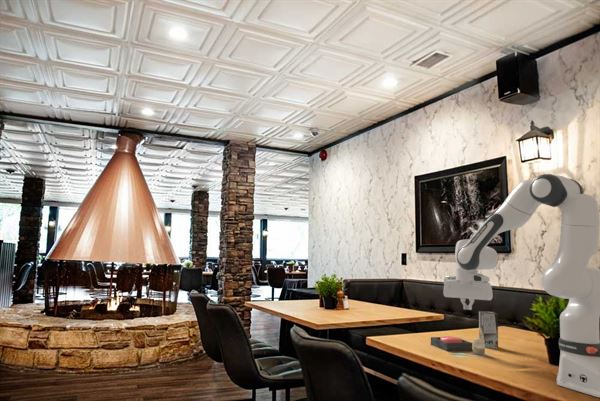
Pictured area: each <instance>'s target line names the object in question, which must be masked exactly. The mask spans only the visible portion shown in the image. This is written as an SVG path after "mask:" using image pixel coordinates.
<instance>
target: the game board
mask: <svg viewBox="0 0 600 401" xmlns="http://www.w3.org/2000/svg"><path fill="white" fill-rule="evenodd" d="M440 337H441V336H430V346H432V347H435V348H437V349H440V350H442V351H444V352H448V354H449V355H451V356H454V357H456V358H472V357H473V356H474V357H477V358H478V357H480V358H481V357H490V355H489V354H486V353H485V355H484V356H478V355H474V354H473V342H471V341H468V340H465V339H462V343H447V342H444V341H441V340H440ZM464 352H467V354H466V353H464ZM468 354H469V355H468ZM471 355H472V356H471Z"/></svg>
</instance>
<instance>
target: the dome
mask: <svg viewBox="0 0 600 401" xmlns="http://www.w3.org/2000/svg"><path fill="white" fill-rule="evenodd" d="M439 337H440V340H441V341H444V342H447V343H462V340H463V338H460V337H456V336H449V335H448V336H447V335H445V336H439Z"/></svg>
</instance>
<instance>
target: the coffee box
mask: <svg viewBox="0 0 600 401" xmlns="http://www.w3.org/2000/svg"><path fill="white" fill-rule="evenodd" d="M498 316H499V313H496V312H495V311H489V310H488V311H486V310H485V311H480V310H479V311H478V332H479V334H478V337H479V339H484V340H485V349H495V350H498V349H499V318H498Z"/></svg>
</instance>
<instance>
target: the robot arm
mask: <svg viewBox="0 0 600 401" xmlns="http://www.w3.org/2000/svg"><path fill="white" fill-rule="evenodd" d="M542 204H543V205H546V206H549V207H552V208H558V209H559V210H560V214H561V220H560V222H561V223H560V238H559V247H558V250H557V253H556V255H555V258H554V260H553V261H552V263H551V264H550V266H549V267H548V268H547V269H545V270H544V271H543V273H542V274H541V275H542V276H541V284H542V288H543V290H544V291H545V292H546V293H547V294H549V295H550V296H553V297H556V298H560V299H568V303H567V306H566V307H565V308H564V310H563V311H562V312H561V313H560V315H559V334H560V335H559V336H560V337H559V338H558V348H559V350H560V353H559V354H560V355H559V362H558V363H559V365H558V371H557V376H556V380H555V381H556V385H557V386H561V387H564V388H566V389H570V390H573V391H577V392H580V393H583V394H586V395H590V396H592V397H597V398H600V268H596V267H594V266H588V264H589V262H590V260H591V258H592V257H593V256H594V255H595V254H596V253H597V252H598V251H599V246H600V245H599V244H600V210H599V205H598V201H597V200H596V198H595V197H593V196H592V195H589V194H586V193H584V189H583V186H582V185H581V183H579V182H578V181H576V180H575V179H572V178H568V177H565V176H562V175H559V174H558V175H557V174H550V173H546V174H540V175H538V176H536V177H535V178H533V179H532V180H529V179H528V180H527V179H524V180H522V181H520V182H519V183H518V184H517V185H516V186H515V187H514V188H513V189H512V190H511V192H510V193H509V194H508V196H507V197H506V198H505V200H504V202H502V204H501V205H500V206H499V207H498V209H497V210H496V211H494V212H493V213H492V215H490V216H489V217H488V218H487V219H486V220H485V221H484V222H483V223H482V225H481V226H480V227H479V228H478V229H477V230H476V232H475V233H474V234H473V235H472V236H471V238H465V239H460V240H458V241H457V242H456V243H455V251H454V254H455V255H454V256H455V257H454V259H455V263H456V266H455V276H453V275H451V276H450V275H447V276H446V277H444V278H443V292H442V294H443V296H444V297H445V298H454V299H455V298H456V299H460V302H461V304H462V305H463V307H462V308H463V310H465V311H466V310H469V311H472V309H473V304H474V303H475V300H479V301H480V300H481V301H492V299H493V297H494V296H493V295H494V294H493V289H492V284H491V283H490V277H489V276H487V275H485V274H481V273H478V270H483V271H484V270H492V269H495V268H496V267H497V265H498V263H499V260H500V259H499V254H498V252H497V250H496V249H494V248H493V247H490V246H488V245H489V243H490V242H491V241H492V240H493V239H494V237H496V236H497V235H499V234H501V233H503V232H506V231H507V232H508V231H511V230H516V229H519V228H521V227H524V225H526V223H527V222H529V220H530V219H531V218H532V216H533V215H534V214H535V212H536V211H537V209H538V208H539V207H540V206H542ZM467 299H468V300H469V301H468V302H469V303H468V304H467V303H466V300H467Z"/></svg>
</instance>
